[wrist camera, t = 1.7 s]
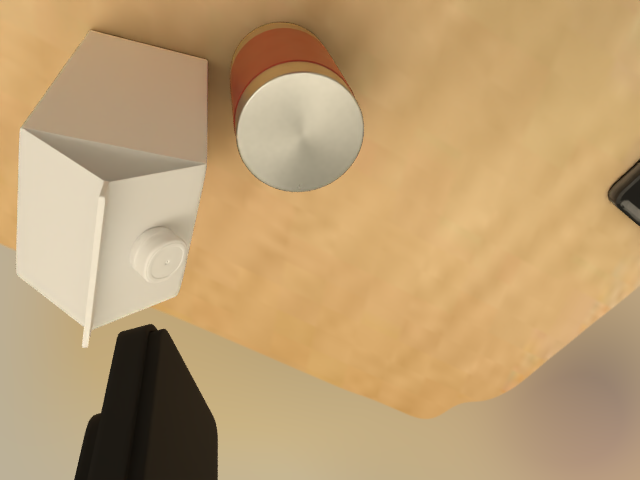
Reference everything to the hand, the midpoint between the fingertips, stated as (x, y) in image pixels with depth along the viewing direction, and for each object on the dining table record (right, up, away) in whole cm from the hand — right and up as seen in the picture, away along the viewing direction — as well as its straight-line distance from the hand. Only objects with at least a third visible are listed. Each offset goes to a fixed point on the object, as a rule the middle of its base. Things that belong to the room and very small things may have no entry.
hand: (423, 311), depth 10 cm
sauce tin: (-4, +12, +26) cm, 29 cm away
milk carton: (-13, +11, +26) cm, 31 cm away
